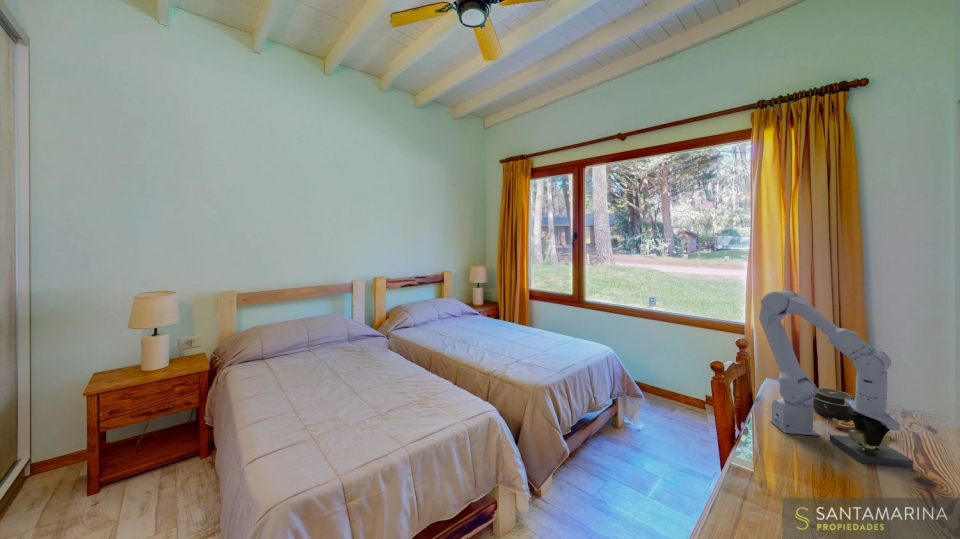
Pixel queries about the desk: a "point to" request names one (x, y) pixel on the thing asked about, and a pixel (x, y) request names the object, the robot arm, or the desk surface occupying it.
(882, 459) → the key plate
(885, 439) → the t key
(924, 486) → the desk surface
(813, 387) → the robot arm
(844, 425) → the figurine
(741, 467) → the desk surface
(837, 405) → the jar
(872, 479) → the desk surface
